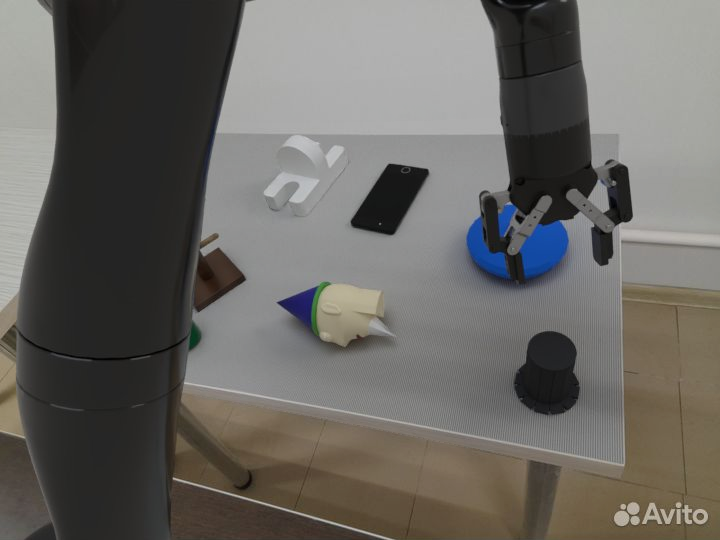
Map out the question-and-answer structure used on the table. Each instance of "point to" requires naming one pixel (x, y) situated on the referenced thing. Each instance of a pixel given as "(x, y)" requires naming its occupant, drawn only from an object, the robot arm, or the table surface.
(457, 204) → the table surface
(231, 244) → the table surface
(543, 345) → the black hat
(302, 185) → the white slotted bracket
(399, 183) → the cell phone
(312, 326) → the cartoon head
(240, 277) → the coat stand
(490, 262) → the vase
